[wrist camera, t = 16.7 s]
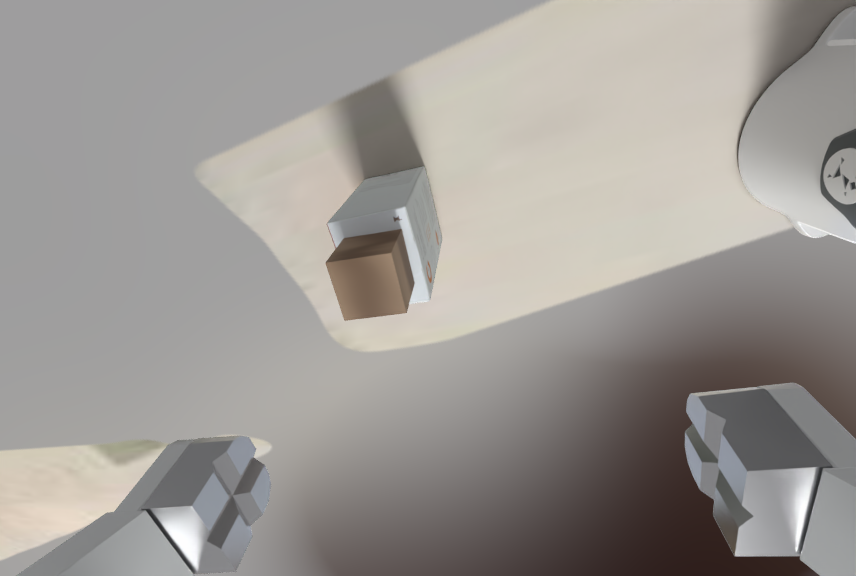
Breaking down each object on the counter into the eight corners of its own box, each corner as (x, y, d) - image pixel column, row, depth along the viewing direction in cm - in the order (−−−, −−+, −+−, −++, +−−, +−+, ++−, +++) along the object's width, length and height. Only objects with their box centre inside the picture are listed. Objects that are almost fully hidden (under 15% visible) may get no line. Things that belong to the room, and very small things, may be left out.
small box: (363, 178, 44) (324, 221, 32) (425, 164, 43) (406, 203, 31) (386, 252, 47) (357, 314, 36) (443, 241, 46) (432, 302, 35)
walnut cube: (401, 228, 32) (391, 253, 28) (414, 283, 34) (406, 312, 30) (343, 238, 33) (325, 262, 29) (359, 290, 35) (344, 320, 31)
